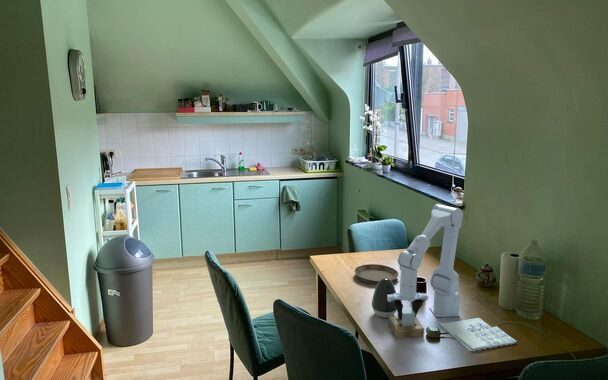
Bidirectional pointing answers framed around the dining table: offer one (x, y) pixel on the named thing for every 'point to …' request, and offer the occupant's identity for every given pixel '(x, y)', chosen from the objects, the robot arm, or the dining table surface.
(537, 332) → the dining table surface
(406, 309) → the blue block
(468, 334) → the paper napkin stack
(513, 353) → the dining table surface
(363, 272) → the plant saucer
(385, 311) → the dark grey egg shape
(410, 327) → the square wooden tray
